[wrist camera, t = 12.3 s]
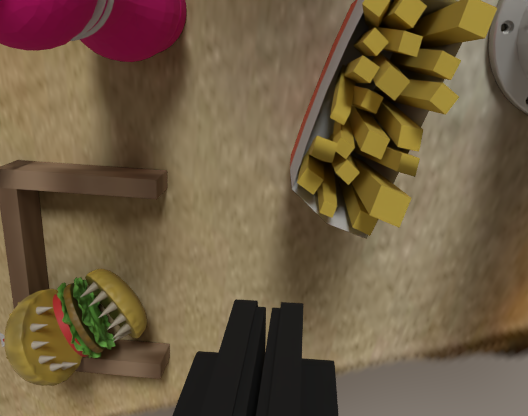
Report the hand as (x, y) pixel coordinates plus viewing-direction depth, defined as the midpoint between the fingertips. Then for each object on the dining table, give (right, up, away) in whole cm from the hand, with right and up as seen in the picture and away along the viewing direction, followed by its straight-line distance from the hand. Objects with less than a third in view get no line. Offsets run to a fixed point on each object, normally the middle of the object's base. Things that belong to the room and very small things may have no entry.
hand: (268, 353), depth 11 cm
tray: (-14, -2, +29) cm, 32 cm away
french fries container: (+6, +12, +23) cm, 27 cm away
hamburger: (-11, -3, +28) cm, 30 cm away
